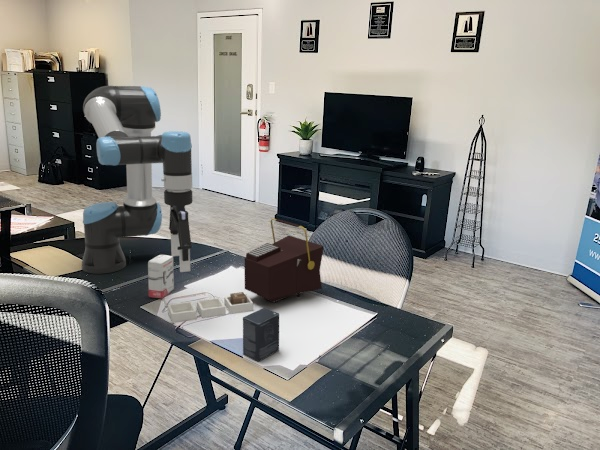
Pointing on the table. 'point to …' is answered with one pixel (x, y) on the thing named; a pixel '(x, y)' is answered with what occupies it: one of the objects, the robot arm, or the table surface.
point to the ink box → (160, 276)
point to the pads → (164, 302)
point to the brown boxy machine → (283, 267)
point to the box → (260, 334)
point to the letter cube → (238, 298)
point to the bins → (206, 309)
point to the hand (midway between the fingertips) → (180, 263)
